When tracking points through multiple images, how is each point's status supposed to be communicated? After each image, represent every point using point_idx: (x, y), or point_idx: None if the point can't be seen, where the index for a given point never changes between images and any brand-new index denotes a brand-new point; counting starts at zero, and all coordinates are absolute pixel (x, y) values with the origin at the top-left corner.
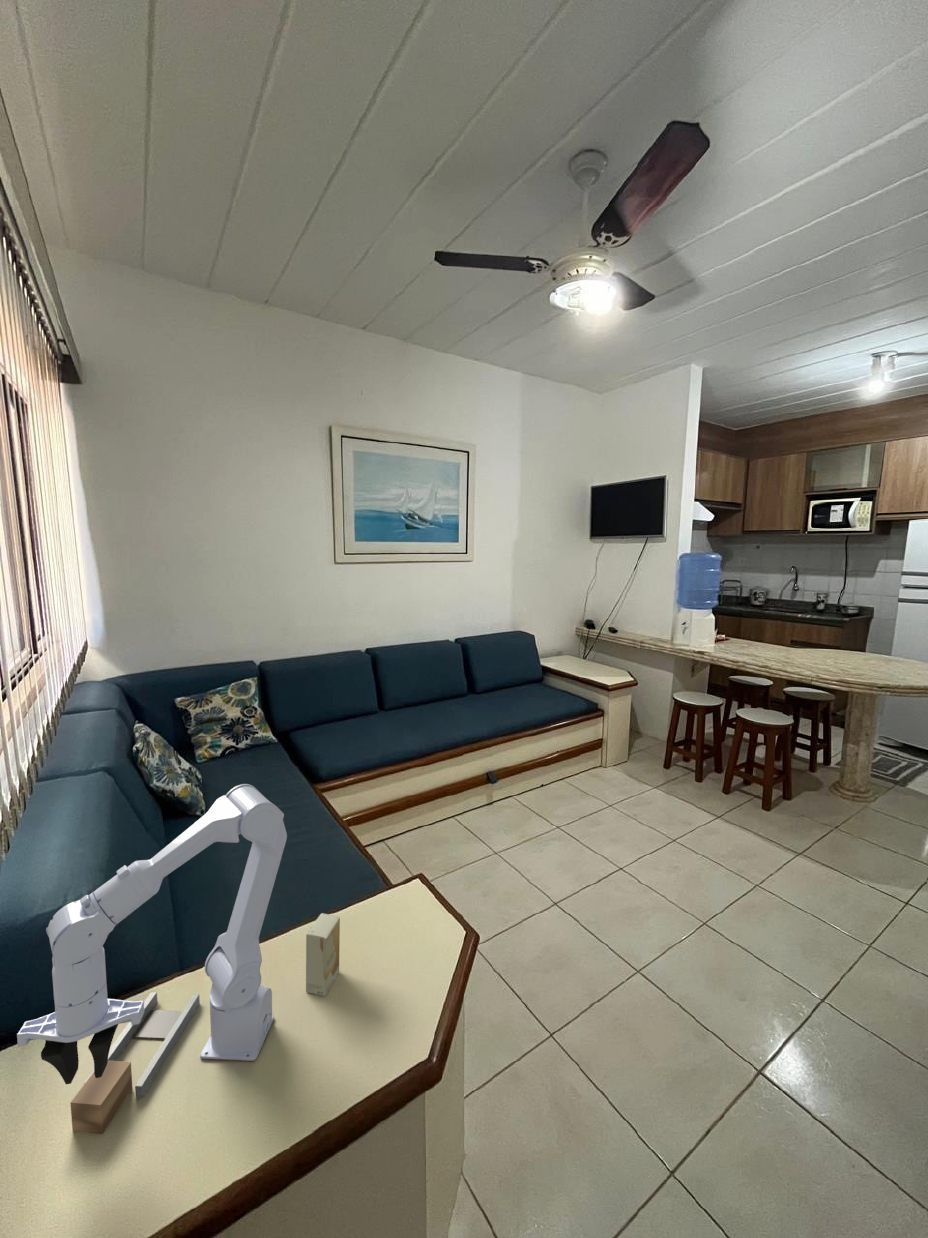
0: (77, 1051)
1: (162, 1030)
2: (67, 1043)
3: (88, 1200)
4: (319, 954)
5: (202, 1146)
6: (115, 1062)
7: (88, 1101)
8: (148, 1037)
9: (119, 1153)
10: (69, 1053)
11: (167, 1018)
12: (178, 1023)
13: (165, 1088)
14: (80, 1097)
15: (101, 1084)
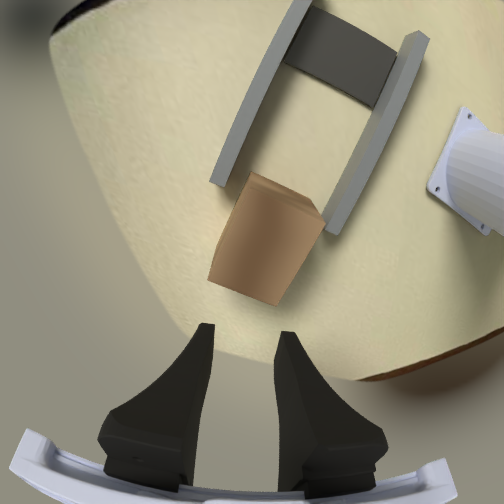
0: (205, 358)
1: (353, 75)
2: (191, 466)
3: (274, 344)
4: None
5: (405, 325)
6: (286, 210)
7: (247, 292)
8: (324, 80)
9: (304, 304)
10: (197, 421)
11: (358, 47)
12: (400, 99)
13: (369, 222)
14: (225, 276)
15: (265, 260)
